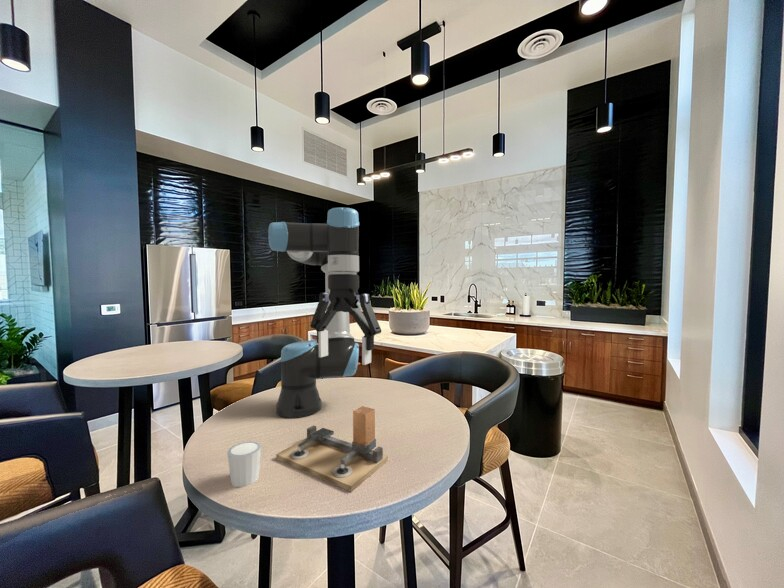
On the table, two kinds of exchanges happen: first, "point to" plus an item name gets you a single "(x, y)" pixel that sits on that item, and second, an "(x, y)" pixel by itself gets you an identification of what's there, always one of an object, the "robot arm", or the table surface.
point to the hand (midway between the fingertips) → (344, 359)
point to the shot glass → (244, 463)
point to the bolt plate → (333, 461)
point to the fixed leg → (315, 438)
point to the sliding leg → (361, 434)
